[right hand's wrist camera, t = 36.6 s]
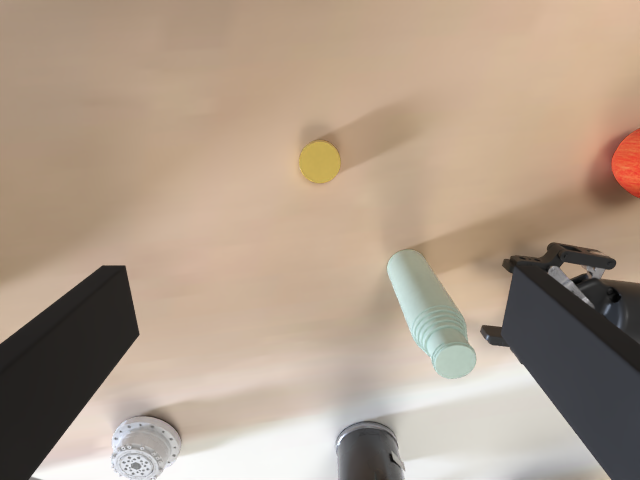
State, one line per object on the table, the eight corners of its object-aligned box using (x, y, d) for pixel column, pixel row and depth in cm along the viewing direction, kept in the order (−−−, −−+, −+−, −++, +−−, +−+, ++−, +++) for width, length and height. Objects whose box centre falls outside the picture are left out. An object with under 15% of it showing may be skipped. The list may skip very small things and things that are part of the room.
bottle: (390, 247, 46) (431, 334, 29) (430, 250, 46) (493, 339, 29) (384, 282, 48) (419, 384, 31) (422, 286, 48) (478, 389, 31)
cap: (305, 184, 43) (304, 187, 41) (295, 145, 41) (294, 147, 40) (343, 175, 43) (344, 178, 41) (335, 135, 41) (335, 137, 40)
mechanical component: (138, 469, 59) (193, 452, 58) (125, 497, 55) (184, 479, 54) (103, 425, 56) (160, 406, 55) (86, 451, 52) (147, 431, 50)
